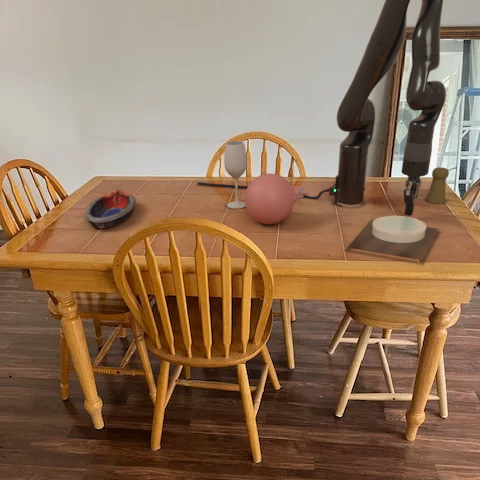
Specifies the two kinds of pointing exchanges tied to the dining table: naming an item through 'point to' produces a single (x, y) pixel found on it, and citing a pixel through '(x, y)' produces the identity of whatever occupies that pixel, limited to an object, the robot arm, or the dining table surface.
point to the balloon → (271, 198)
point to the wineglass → (235, 166)
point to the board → (393, 244)
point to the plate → (398, 229)
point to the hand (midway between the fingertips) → (408, 214)
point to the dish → (110, 209)
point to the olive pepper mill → (438, 185)
